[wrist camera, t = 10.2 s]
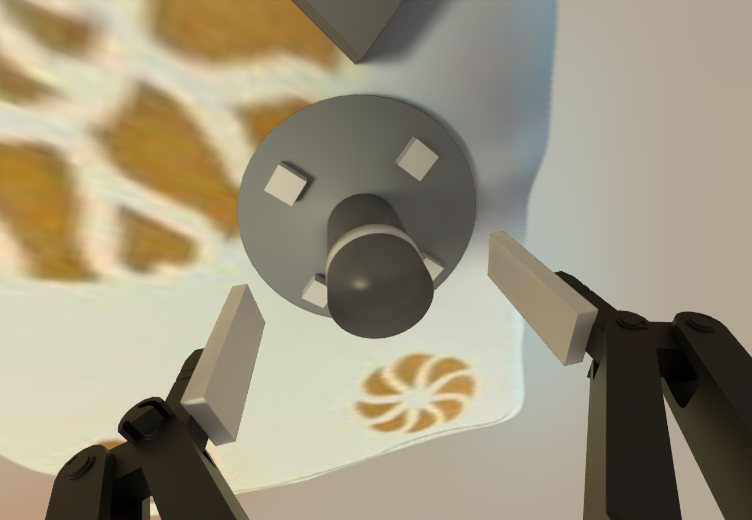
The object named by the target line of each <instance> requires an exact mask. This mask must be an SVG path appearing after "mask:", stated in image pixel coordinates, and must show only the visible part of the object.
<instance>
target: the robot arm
mask: <svg viewBox="0 0 752 520" xmlns="http://www.w3.org/2000/svg"><path fill="white" fill-rule="evenodd" d="M488 276H489V277H490V279H491V280H492V281H493V282H494V283H495V285H496V286H497V287H498V288H499V289H500V290H501V292H502V293H503V294H504V295H505V296H506V298H507V299H508V300H509V301H510V302H511V303H512V305H513V306H514V307H515V308H516V309H517V311H518V312H519V313H520V314H521V315H522V317H523V318H524V319H525V320H526V321H527V322H528V324H529V325H530V326H531V327H532V328H533V330H534V331H535V332H536V333H537V334H538V336H540V338H541V339H542V340H543V341H544V343H545V344H546V345H547V346H548V347H549V348H550V349H551V351H552V352H553V353H554V354H555V356H556V357H557V358H558V359H559V360H560V362H561V363H562V364H563V365H564V366H566V365H571V364H575V363H579V362H582V361H583V358H584V355H585V352H587V353H588V354H589V355H590V356H591V357H592V358H593V360H592V364H591V366H590V369H589V372H588V375H587V377H588V378H590V395H589V416H588V434H587V454H586V474H585V492H584V493H585V494H584V513H583V520H682V517H681V511H680V504H679V497H678V491H677V485H676V478H675V471H674V464H673V458H672V451H671V445H670V438H669V432H668V425H667V418H666V412H665V405H664V398H663V395H664V397H665V399H666V401H667V403H668V405H669V407H670V408H671V411H672V413H673V415H674V417H675V419H676V421H677V423H678V425H679V427H680V429H681V431H682V433H683V435H684V437H685V439H686V441H687V443H688V445H689V448H690V449H691V452H692V454H693V456H694V458H695V460H696V462H697V464H698V466H699V468H700V470H701V472H702V474H703V476H704V478H705V480H706V482H707V484H708V486H709V488H710V490H711V492H712V494H713V496H714V498H715V500H716V502H717V504H718V506H719V508H720V510H721V512H722V514H723V516H724V519H725V520H752V357H751V356H750V355H749V354H748V352H747V351H746V350H745V349H744V348H743V346H742V345H741V344H740V343H739V342H738V341H737V339H736V338H735V337H734V336H733V335H732V334H731V332H730V331H729V330H728V329H727V327H726V326H724V325H723V324H722V323H721V322H720V321H718V320H716V319H714V318H712V317H710V316H707V315H704V314H701V313H696V312H681V313H678V314H676V316H675V318H674V320H673V322H649V321H648V320H646V319H645V318H644V317H642V316H640V315H638V314H635V313H632V312H629V311H621V310H620V311H617V310H616V309H615V308H613V307H612V306H611V305H610V304H608V303H607V302H606V301H604V300H603V299H602V298H601V297H599V296H598V295H597V294H596V293H594V292H593V291H590V289H589V288H588V287H587V286H585V285H583V284H582V283H581V282H580V281H579V280H578V279H576V278H575V277H574V276H572V275H569V274H567V273H565V272H562V271H559V272H555V273H554V272H552V271H551V270H550V269H549V268H548V267H546V266H545V265H544V264H543V263H542V262H540V261H539V260H538V259H537V258H536V257H534V256H533V255H532V254H531V253H530V252H528V251H527V250H526V249H525V248H524V247H522V246H521V245H520V244H519V243H518V242H516V241H515V240H514V239H513V238H512V237H510V236H509V235H508V234H507V233H506V232H504V231H501V232H496V233H491V234H490V245H489V263H488ZM264 325H265V321H264V319H263V317H262V315H261V313H260V311H259V308H258V306H257V304H256V302H255V300H254V298H253V295H252V293H251V291H250V289H249V287H248V285H247V284H243V285H238V286H233V287H232V289H231V291H230V293H229V295H228V297H227V300H226V302H225V304H224V306H223V308H222V311H221V313H220V315H219V317H218V319H217V322H216V324H215V326H214V328H213V331H212V333H211V335H210V337H209V339H208V342H207V344H206V346H205V348H203V349H198V350H195V351H194V352H193V353H192V354H191V355H190V356H189V357H188V358H187V359H186V361H185V363H184V365H183V367H182V369H181V371H180V372H181V373H179V375H178V377H177V379H176V382H175V383H174V385H173V387H172V389H171V391H170V393H169V395H168V397H167V399H166V401H164V400H163V399H161V398H160V397H151V398H148V399H145V400H143V401H141V402H139V403H138V404H136V405H135V406H134V407H132V408H131V409H130V410H129V411H128V412H127V413H126V414H125V415H124V416H123V418H122V419H121V421H120V423H119V425H118V432H119V433H120V434H121V435H122V436H123V437H124V438H125V439H126V440H127V442H125V443H123V444H121V445H119V446H117V447H115V448H113V449H111V450H108V449H107V448H106V447H104V446H102V445H101V444H100V445H92V446H90V447H88V448H85V449H83V450H82V451H80V452H79V453H77V454H76V455H74V456H73V457H72V458H71V459H70V460H69V461H68V462H67V463H66V464H65V465H64V466H63V468H62V469H61V470H60V471H59V473H58V475H57V477H56V479H55V481H54V485H53V489H52V493H51V498H50V502H49V506H48V510H47V514H46V518H45V520H150V496H152V497H153V499H154V502H155V504H156V507H157V510H158V512H159V515H160V517H161V520H249V518H248V516H247V515H246V513H245V512H244V510H243V508H242V507H241V505H240V503H239V502H238V500H237V499H236V497H235V495H234V494H233V492H232V490H231V489H230V487H229V486H228V484H227V482H226V481H225V479H224V477H223V476H222V474H221V472H220V471H219V469H218V468H217V466H216V464H215V463H214V461H213V459H212V458H211V456H210V455H209V453H208V452H207V451H206V449H205V447H206V444H207V441H208V438H209V439H210V440H211V441H212V443H213V444H214V445H215V446H218V445H222V444H226V443H231V442H235V441H236V438H237V434H238V430H239V426H240V422H241V418H242V413H243V409H244V405H245V401H246V397H247V393H248V389H249V385H250V381H251V377H252V373H253V369H254V365H255V361H256V357H257V353H258V349H259V345H260V341H261V337H262V333H263V329H264Z"/></svg>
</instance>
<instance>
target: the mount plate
mask: <svg viewBox="0 0 752 520" xmlns="http://www.w3.org/2000/svg"><path fill="white" fill-rule="evenodd" d="M356 194H373V195H377V196H379V197H381V198H383V199H385V200H386V201H387V202H388V203H389V204H390V205H391V206H392V207H393V208H394V210H395V212H396V214H397V215H398V217H399V219H400V221H401V223H402V224H403V226H404V228H405V230H406V232H407V233H408V235H409V237H410V238H411V239H412V240H413V241H414V243H415V244H416V246H417V248H418V250H419V251H420V253H421V255H422V257H423V260H424V264H425V266H426V268H427V269H428V271H429V273H430V275H431V277H432V281H433V286H434V290H435V289H437V288H438V287H439V286H440V285H441V284H442V283H443V282H444V281H445V280H446V279H447V277H448V276H449V275H450V274H451V273H452V271H453V270H454V269H455V267H456V266H457V264H458V263H459V261H460V260H461V258H462V256H463V254H464V252H465V250H466V248H467V246H468V243H469V240H470V237H471V234H472V230H473V225H474V221H475V209H476V201H475V189H474V184H473V178H472V175H471V172H470V169H469V166H468V163H467V161H466V159H465V157H464V156H463V154H462V152H461V150H460V148H459V147H458V145H457V144H456V143H455V141H454V140H453V138H452V137H451V136H450V135H449V134H448V133H447V132H446V131H445V130H444V129H443V128H442V127H441V126H440V125H439V124H438V123H437V122H436V121H434V120H433V119H432V118H430V117H429V116H428V115H426V114H425V113H423V112H421V111H419V110H417V109H415V108H414V107H412V106H410V105H407V104H404V103H401V102H399V101H396V100H393V99H388V98H383V97H378V96H370V95H348V96H338V97H334V98H330V99H326V100H322V101H319V102H316V103H314V104H312V105H309V106H307V107H305V108H302V109H301V110H299V111H298V112H296V113H294V114H293V115H291V116H289V117H288V118H286V119H285V120H284V121H283V122H282V123H280V124H279V125H278V126H277V127H276V128H275V129H273V130H272V131H271V132H270V133H269V135H268V136H267V137H266V138H265V139H264V140H263V141H262V143H261V144H260V145H259V147H258V148H257V150H256V151H255V153H254V154H253V156H252V158H251V159H250V161H249V164H248V166H247V168H246V170H245V173H244V175H243V179H242V183H241V186H240V190H239V198H238V207H237V208H238V225H239V230H240V235H241V239H242V242H243V245H244V248H245V251H246V253H247V255H248V257H249V259H250V261H251V263H252V265H253V266H254V268H255V269H256V271H257V272H258V274H259V275H260V276H261V278H262V279H263V280H264V281H265V282H266V283H267V284H268V285H269V286H270V287H271V288H272V289H273V290H274V291H275V292H277V293H278V294H279V295H280V296H281V297H283V298H284V299H286V300H287V301H289V302H290V303H292V304H294V305H296V306H298V307H300V308H302V309H304V310H306V311H309V312H312V313H314V314H318V315H321V316H325V317H330V318H332V316H331V314H330V312H329V309H328V304H327V286H326V279H325V267H326V260H327V225H328V219H329V216H330V214H331V212H332V211H333V209H334V208H335V206H336V205H337V204H338V203H339V202H341V201H342V200H344V199H345V198H347V197H349V196H352V195H356Z"/></svg>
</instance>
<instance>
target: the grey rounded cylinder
mask: <svg viewBox="0 0 752 520" xmlns="http://www.w3.org/2000/svg"><path fill="white" fill-rule="evenodd" d="M325 279H326V286H327V304H328V309H329V312H330V314H331V316H332V318H333V320H334V321H335V322H336V323H337V324H338V325H339V326H340V327H341V328H342V329H344V330H345V331H347V332H349V333H351V334H353V335H356V336H359V337H363V338H372V339H378V338H386V337H391V336H395V335H397V334H400V333H402V332H404V331H406V330H408V329H410V328H411V327H413V326H414V325H415V324H417V323H418V322H419V321H420V320H421V319H422V318H423V316H424V315H425V314H426V312H427V311H428V309H429V307H430V305H431V303H432V299H433V294H434V286H433V281H432V277H431V275H430V273H429V271H428V269H427V268H426V266H425V264H424V260H423V257H422V255H421V253H420V251H419V250H418V248H417V246H416V244H415V243H414V241H413V240H412V239H411V238H410V237H409V235H408V233H407V232H406V230H405V228H404V226H403V224H402V223H401V221H400V219H399V217H398V215H397V214H396V212H395V210H394V208H393V207H392V206H391V205H390V204H389V203H388V202H387V201H386V200H385V199H383V198H381V197H379V196H377V195H373V194H356V195H352V196H349V197H347V198H345V199H344V200H342V201H341V202H339V203H338V204H337V205H336V206H335V208H334V209H333V211H332V212H331V214H330V216H329V219H328V225H327V260H326V267H325Z"/></svg>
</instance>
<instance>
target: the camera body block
mask: <svg viewBox="0 0 752 520" xmlns="http://www.w3.org/2000/svg"><path fill="white" fill-rule="evenodd" d="M292 1H293V2H294V3H295V4H296V5H297V6H298V7H299V8H300V9H301V10H302V11H303V13H304V14H305V15H306V16H307V17H308V18H309V19H310V20H311V21H312V22H313V23H314V24H315V25H316V26H317V27H318V28H319V29H320V30H321V31H322V32H323V33H324V34H325V35H326V36H327V37H328V38H329V39H330V40H331V41H332V42H333V43H334V44H335V45H336V46H337V47H338V48H339V49H340V50H341V51H342V52H343V53H344V54H345V55H346V56H347V57H348V58H349V59H350V60H351V61H352V62H353V63H354V64H356V63H357V62H358V61H359V60H361V59H362V58H363V56H364V55H365V54H366V52H367V51H368V49H369V48H370V46H371V45H372V44H373V42H374V41H375V39H376V38H377V36H378V35H379V34H380V32H381V31H382V29H383V28H384V27H385V25H386V24H387V22H388V21H389V19H390V18H391V17H392V15H393V14H394V12H395V11H396V9H397V8H398V7H399V5H400V4H401V2H402V1H403V0H292Z"/></svg>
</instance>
